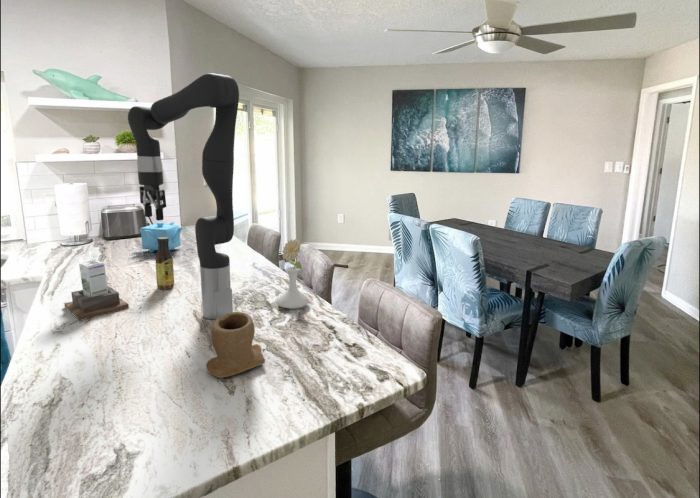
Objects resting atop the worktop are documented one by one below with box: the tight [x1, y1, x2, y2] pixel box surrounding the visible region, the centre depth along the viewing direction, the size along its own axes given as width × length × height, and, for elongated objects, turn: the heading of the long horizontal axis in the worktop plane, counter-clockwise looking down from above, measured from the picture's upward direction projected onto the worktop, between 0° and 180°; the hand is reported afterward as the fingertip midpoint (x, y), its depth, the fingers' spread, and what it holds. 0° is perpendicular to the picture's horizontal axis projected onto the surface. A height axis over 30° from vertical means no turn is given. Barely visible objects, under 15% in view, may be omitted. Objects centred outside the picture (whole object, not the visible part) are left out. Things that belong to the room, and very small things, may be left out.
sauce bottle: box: [155, 237, 175, 291], centre depth 166 cm, size 6×6×20 cm
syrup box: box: [78, 259, 108, 298], centre depth 145 cm, size 6×6×14 cm
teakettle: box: [139, 221, 186, 253], centre depth 221 cm, size 19×19×15 cm
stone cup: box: [205, 311, 266, 379], centre depth 109 cm, size 15×12×15 cm
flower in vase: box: [276, 238, 310, 310], centre depth 151 cm, size 13×11×25 cm
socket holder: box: [64, 285, 130, 321], centre depth 147 cm, size 15×15×6 cm
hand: (154, 218), depth 147 cm, fingers open, 8 cm apart
